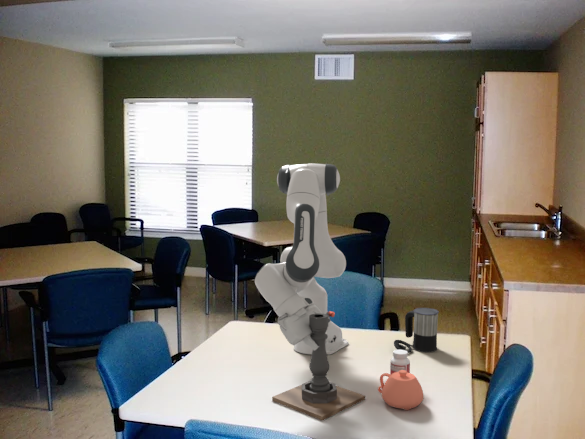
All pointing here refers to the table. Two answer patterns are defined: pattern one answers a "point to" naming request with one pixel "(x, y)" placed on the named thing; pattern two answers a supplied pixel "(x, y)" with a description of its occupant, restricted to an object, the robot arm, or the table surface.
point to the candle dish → (314, 408)
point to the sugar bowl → (401, 390)
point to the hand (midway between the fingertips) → (321, 346)
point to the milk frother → (420, 330)
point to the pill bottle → (399, 361)
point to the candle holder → (319, 353)
